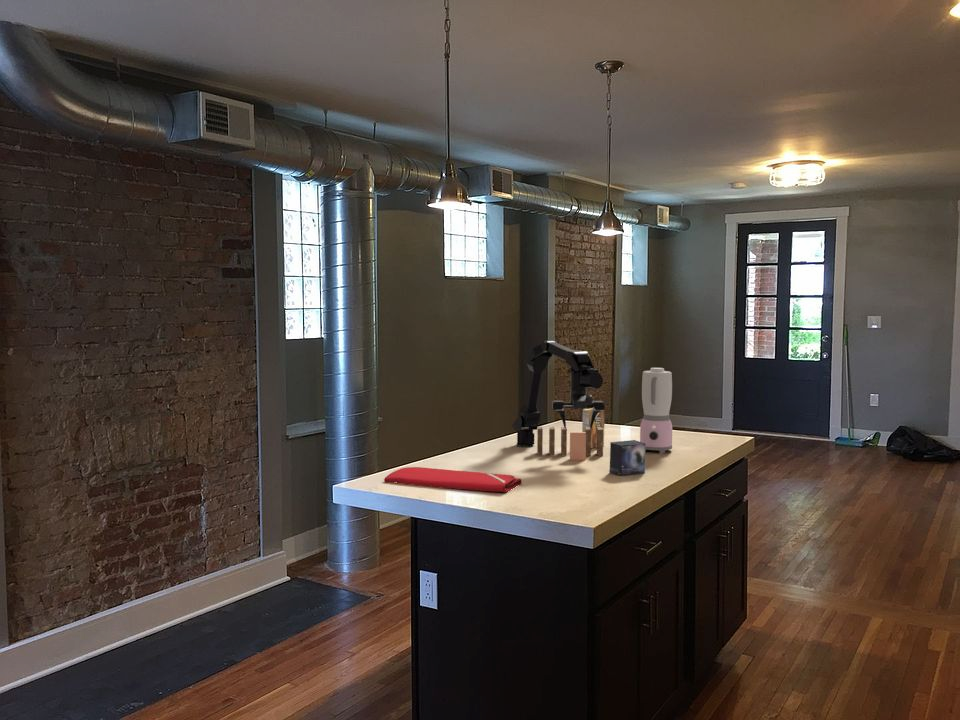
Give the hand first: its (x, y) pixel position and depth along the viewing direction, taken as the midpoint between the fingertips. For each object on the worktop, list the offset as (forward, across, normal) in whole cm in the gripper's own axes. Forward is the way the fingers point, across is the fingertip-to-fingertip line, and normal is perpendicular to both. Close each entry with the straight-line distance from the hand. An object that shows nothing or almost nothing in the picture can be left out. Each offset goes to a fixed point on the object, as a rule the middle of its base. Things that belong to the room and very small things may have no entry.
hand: (577, 428), depth 287 cm
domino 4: (+11, 0, 0) cm, 11 cm away
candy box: (+12, +8, +26) cm, 29 cm away
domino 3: (+11, -4, +10) cm, 16 cm away
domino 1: (+11, -13, +10) cm, 20 cm away
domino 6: (+11, +9, +10) cm, 18 cm away
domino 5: (+11, +5, +10) cm, 16 cm away
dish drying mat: (+12, -42, -40) cm, 60 cm away
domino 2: (+11, -9, +10) cm, 17 cm away
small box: (+12, +15, -22) cm, 29 cm away
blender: (+12, +31, +18) cm, 38 cm away
